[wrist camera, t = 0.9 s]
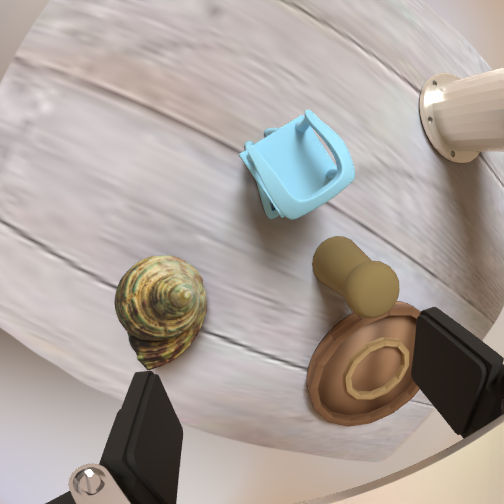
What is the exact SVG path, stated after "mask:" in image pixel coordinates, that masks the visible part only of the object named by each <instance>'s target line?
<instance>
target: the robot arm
mask: <svg viewBox="0 0 504 504" xmlns="http://www.w3.org/2000/svg"><path fill="white" fill-rule="evenodd" d="M420 115H421V119H422V124H423V126H424V129H425V132H426V134H427V136H428V138H429V140H430V142H431V143H432V145H433V146H434V148H435V149H436V150H437V151H438V152H439V153H440V154H441V155H442V156H443V157H445V158H446V159H448V160H450V161H452V162H456V163H466V162H470V161H472V160H474V159H475V158H476V157H477V156H478V155H479V153H480V152H481V151H504V68H500V69H496V70H492V71H488V72H484V73H481V74H477V75H473V76H470V77H466V78H463V79H460V78H458V77H457V76H454V75H452V74H448V73H440V74H437V75H434V76H432V77H431V78H429V79H428V80H427V81H426V83H425V84H424V86H423V88H422V91H421V95H420ZM503 360H504V358H503V357H502V356H500V355H499V354H498V353H497V352H495V351H494V350H493V349H491V348H490V347H489V346H488V345H486V344H485V343H483V342H482V341H481V340H480V339H478V338H477V337H476V336H475V335H473V334H472V333H471V332H469V331H468V330H467V329H465V328H464V327H463V326H461V325H460V324H459V323H457V322H456V321H454V320H453V319H452V318H450V317H449V316H448V315H446V314H445V313H443V312H442V311H441V310H439V309H438V308H436V307H432V308H429V309H426V310H423V311H421V312H420V315H419V316H418V317H417V321H416V333H415V344H414V353H413V362H412V369H411V376H412V379H413V381H414V382H415V384H416V385H417V386H418V387H419V388H420V390H421V391H422V392H423V393H424V394H425V396H426V397H427V398H428V399H429V401H430V402H431V403H432V404H433V405H434V407H435V408H436V409H437V410H438V412H439V413H440V414H441V415H442V417H443V418H444V419H445V420H446V422H447V423H448V424H449V425H450V427H451V428H452V429H453V430H454V432H455V433H456V434H458V435H460V434H461V436H462V437H463V438H464V439H463V440H461V441H459V442H458V443H456V444H454V445H452V446H451V447H449V448H447V449H445V450H443V451H441V452H439V453H437V454H435V455H433V456H431V457H429V458H427V459H425V460H423V461H421V462H419V463H417V464H415V465H412V466H410V467H408V468H405V469H403V470H401V471H398V472H396V473H394V474H391V475H389V476H386V477H384V478H381V479H378V480H376V481H373V482H370V483H367V484H364V485H361V486H358V487H355V488H352V489H349V490H346V491H343V492H339V493H336V494H333V495H329V496H325V497H321V498H317V499H313V500H309V501H305V502H300V503H295V504H504V365H503V364H502V363H503ZM182 440H183V429H182V426H181V424H180V422H179V419H178V417H177V415H176V413H175V411H174V409H173V407H172V404H171V402H170V400H169V398H168V396H167V393H166V391H165V389H164V386H163V384H162V382H161V379H160V377H159V375H157V374H154V373H153V372H152V371H144V372H136V373H135V374H134V376H133V379H132V382H131V384H130V387H129V389H128V392H127V395H126V397H125V400H124V403H123V405H122V408H121V409H120V410H119V411H118V413H117V416H116V418H115V421H114V424H113V426H112V429H111V432H110V435H109V437H108V440H107V443H106V446H105V449H104V452H103V454H102V457H101V460H100V463H99V464H86V465H83V466H81V467H79V468H78V469H76V470H75V471H74V472H73V473H72V475H71V477H70V479H69V489H70V491H68V492H67V493H65V494H63V495H61V496H59V497H57V498H55V499H53V500H52V501H50V502H48V503H46V504H176V500H177V489H178V478H179V467H180V459H181V449H182Z"/></svg>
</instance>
